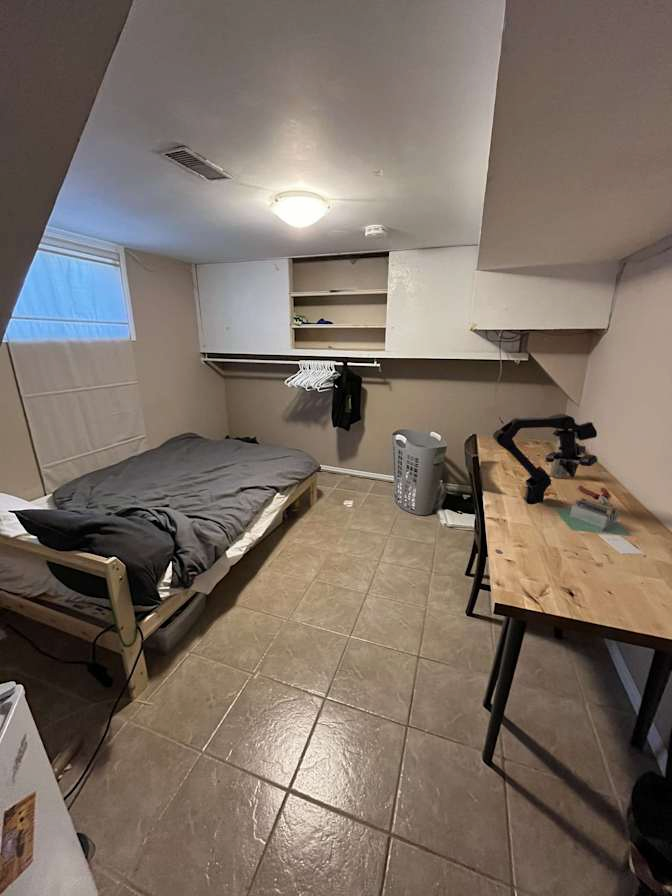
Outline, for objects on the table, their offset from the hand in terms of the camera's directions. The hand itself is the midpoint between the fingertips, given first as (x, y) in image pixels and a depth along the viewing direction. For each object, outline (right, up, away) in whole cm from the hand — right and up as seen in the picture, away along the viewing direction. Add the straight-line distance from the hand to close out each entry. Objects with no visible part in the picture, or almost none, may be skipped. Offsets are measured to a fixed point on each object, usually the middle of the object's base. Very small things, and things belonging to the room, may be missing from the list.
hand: (573, 476), depth 158 cm
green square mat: (-3, -17, -14) cm, 22 cm away
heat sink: (-2, -16, -14) cm, 22 cm away
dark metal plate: (-2, -11, -16) cm, 19 cm away
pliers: (+18, -11, +12) cm, 24 cm away
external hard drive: (-3, -23, -30) cm, 38 cm away
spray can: (+17, -3, +37) cm, 41 cm away
